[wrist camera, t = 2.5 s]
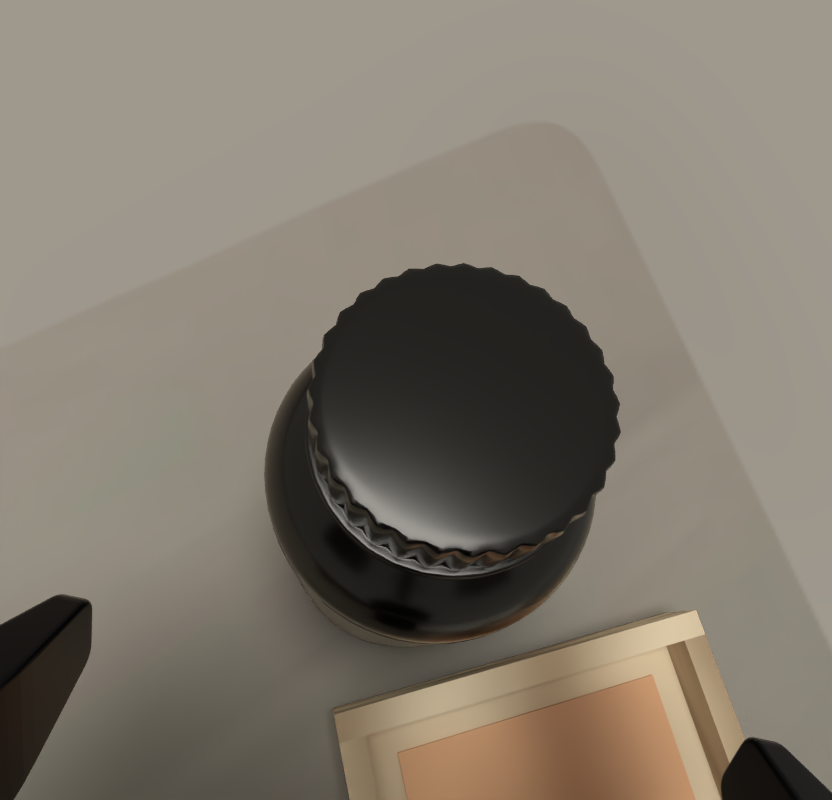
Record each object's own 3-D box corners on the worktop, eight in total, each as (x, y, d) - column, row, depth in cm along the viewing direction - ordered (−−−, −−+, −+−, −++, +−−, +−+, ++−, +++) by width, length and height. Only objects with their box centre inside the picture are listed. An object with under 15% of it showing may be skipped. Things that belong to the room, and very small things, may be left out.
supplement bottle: (517, 464, 22) (712, 275, 11) (476, 672, 19) (676, 713, 8) (327, 409, 22) (321, 161, 10) (259, 612, 19) (154, 568, 8)
